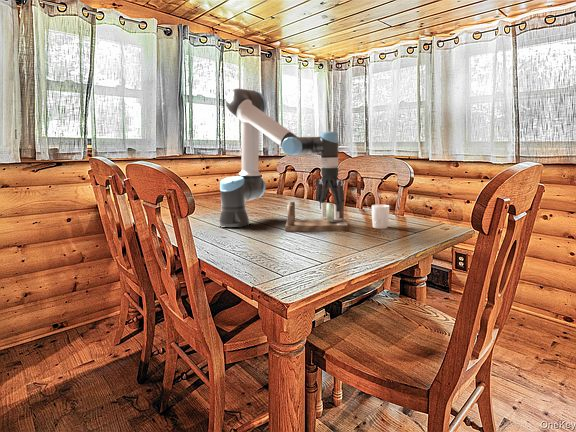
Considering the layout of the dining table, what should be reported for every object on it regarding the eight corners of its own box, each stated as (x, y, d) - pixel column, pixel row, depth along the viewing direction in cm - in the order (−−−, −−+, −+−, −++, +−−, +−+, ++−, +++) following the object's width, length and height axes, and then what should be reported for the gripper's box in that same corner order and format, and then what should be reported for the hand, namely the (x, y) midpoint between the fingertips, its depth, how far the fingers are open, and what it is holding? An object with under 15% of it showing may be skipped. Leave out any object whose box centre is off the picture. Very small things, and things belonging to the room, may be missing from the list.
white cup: (389, 229, 169) (390, 207, 167) (371, 229, 171) (371, 207, 169) (388, 225, 177) (388, 204, 175) (371, 225, 179) (371, 204, 177)
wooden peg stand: (285, 231, 171) (284, 206, 168) (287, 225, 184) (286, 201, 181) (348, 230, 169) (348, 205, 167) (345, 224, 182) (345, 200, 180)
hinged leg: (340, 219, 178) (340, 201, 177) (344, 221, 176) (344, 202, 174) (325, 222, 175) (325, 203, 173) (329, 223, 172) (329, 204, 170)
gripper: (307, 167, 173) (308, 216, 178) (342, 168, 160) (342, 221, 164) (318, 166, 179) (318, 213, 183) (353, 167, 165) (352, 218, 169)
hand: (330, 217), depth 174 cm, fingers open, 7 cm apart
